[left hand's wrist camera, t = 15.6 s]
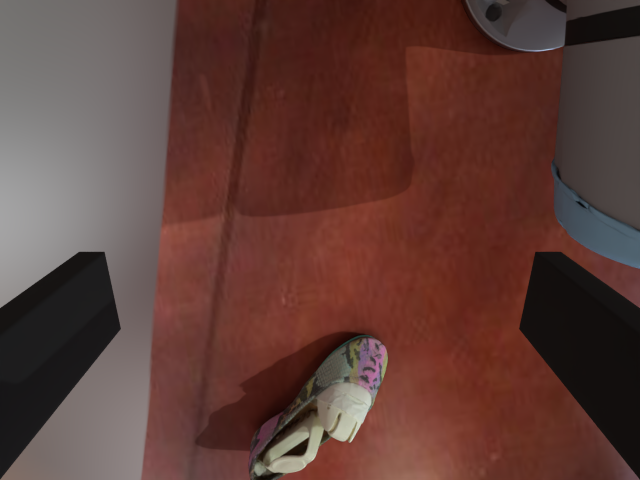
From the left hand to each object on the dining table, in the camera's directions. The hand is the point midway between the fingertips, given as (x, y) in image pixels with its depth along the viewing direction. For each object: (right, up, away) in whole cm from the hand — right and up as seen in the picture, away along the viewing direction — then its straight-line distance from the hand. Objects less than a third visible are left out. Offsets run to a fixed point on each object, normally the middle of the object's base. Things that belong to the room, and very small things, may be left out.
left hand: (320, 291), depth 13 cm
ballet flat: (0, -19, +41) cm, 45 cm away
